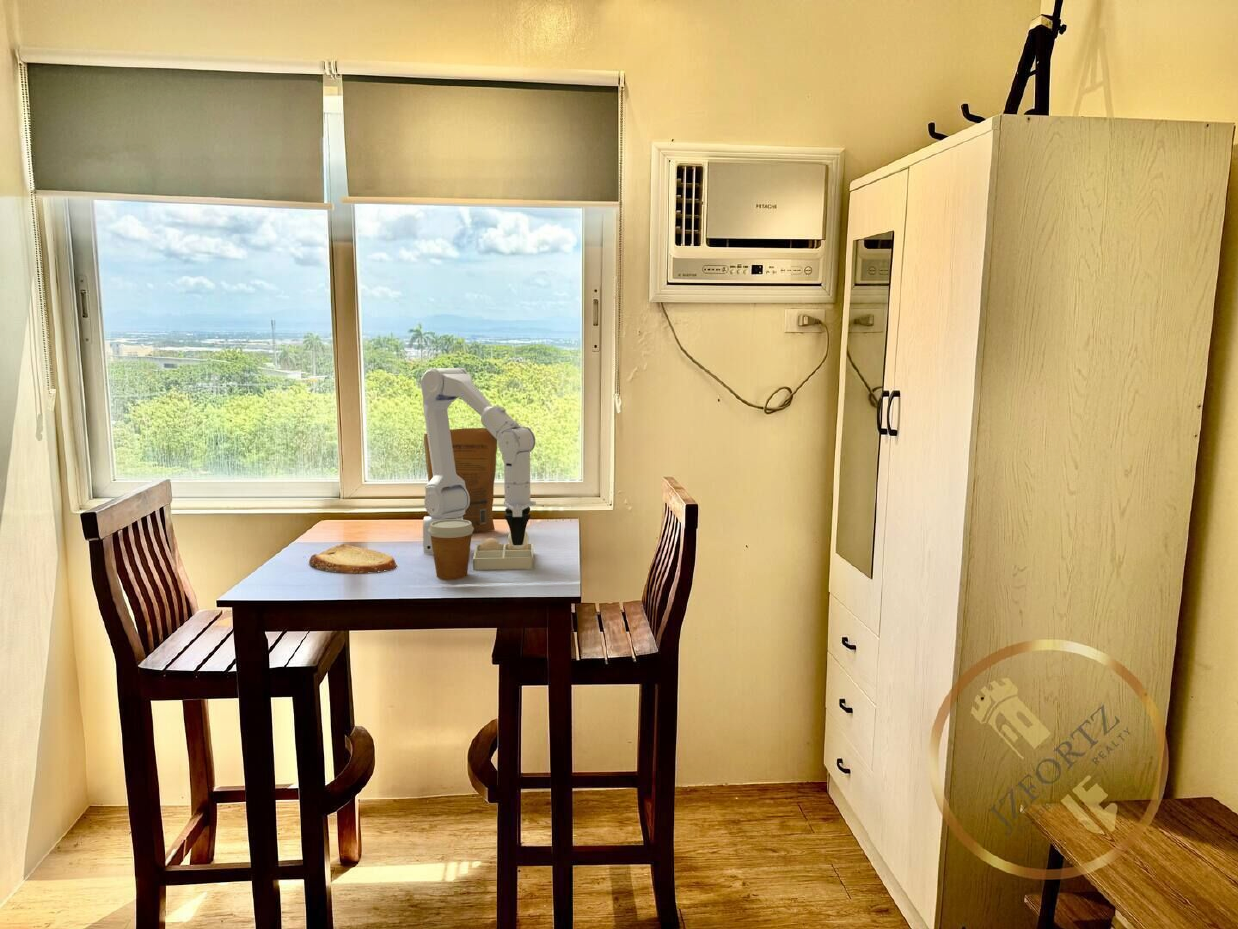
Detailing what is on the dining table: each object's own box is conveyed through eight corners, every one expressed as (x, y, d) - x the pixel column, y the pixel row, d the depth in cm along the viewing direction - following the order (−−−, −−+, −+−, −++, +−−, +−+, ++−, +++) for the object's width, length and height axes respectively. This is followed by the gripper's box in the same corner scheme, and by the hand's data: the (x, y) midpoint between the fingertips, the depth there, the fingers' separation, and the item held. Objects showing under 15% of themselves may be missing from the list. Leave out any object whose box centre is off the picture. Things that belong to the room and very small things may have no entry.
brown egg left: (479, 560, 184) (479, 540, 183) (481, 555, 188) (480, 536, 188) (500, 560, 184) (500, 540, 184) (500, 554, 189) (500, 535, 188)
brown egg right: (508, 559, 184) (507, 540, 184) (508, 554, 189) (508, 535, 188) (528, 559, 185) (528, 540, 184) (528, 554, 189) (528, 535, 189)
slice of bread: (399, 571, 178) (399, 555, 177) (313, 580, 170) (312, 563, 170) (388, 552, 194) (387, 537, 193) (308, 560, 187) (307, 544, 186)
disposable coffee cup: (477, 582, 168) (476, 526, 167) (430, 586, 166) (429, 529, 164) (472, 570, 177) (471, 517, 176) (427, 573, 175) (426, 519, 173)
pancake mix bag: (498, 534, 212) (496, 429, 208) (425, 534, 212) (422, 428, 208) (500, 528, 219) (499, 426, 215) (430, 528, 218) (427, 426, 214)
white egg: (507, 550, 178) (507, 530, 177) (508, 545, 182) (507, 526, 181) (528, 550, 178) (528, 530, 177) (528, 545, 183) (528, 525, 182)
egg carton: (473, 572, 176) (472, 558, 176) (476, 556, 189) (476, 544, 189) (533, 570, 178) (533, 557, 177) (532, 555, 191) (532, 543, 190)
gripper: (535, 487, 171) (536, 549, 173) (535, 476, 186) (535, 534, 187) (502, 488, 170) (503, 550, 172) (504, 477, 185) (505, 534, 187)
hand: (518, 542), depth 180 cm, fingers closed on white egg, 5 cm apart
